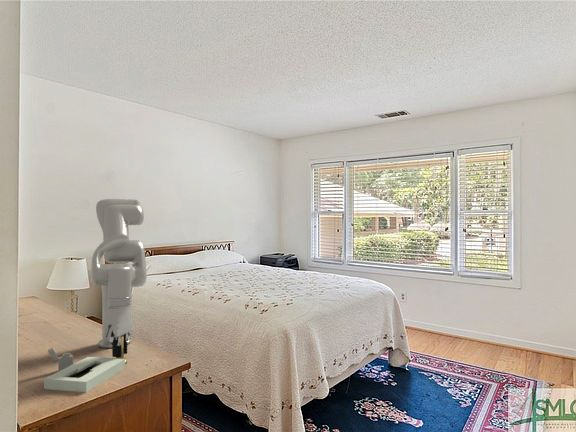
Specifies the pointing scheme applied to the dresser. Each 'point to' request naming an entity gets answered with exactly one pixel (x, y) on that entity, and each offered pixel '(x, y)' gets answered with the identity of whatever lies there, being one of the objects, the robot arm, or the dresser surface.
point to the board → (96, 376)
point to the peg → (122, 349)
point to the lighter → (62, 359)
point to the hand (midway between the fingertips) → (119, 354)
